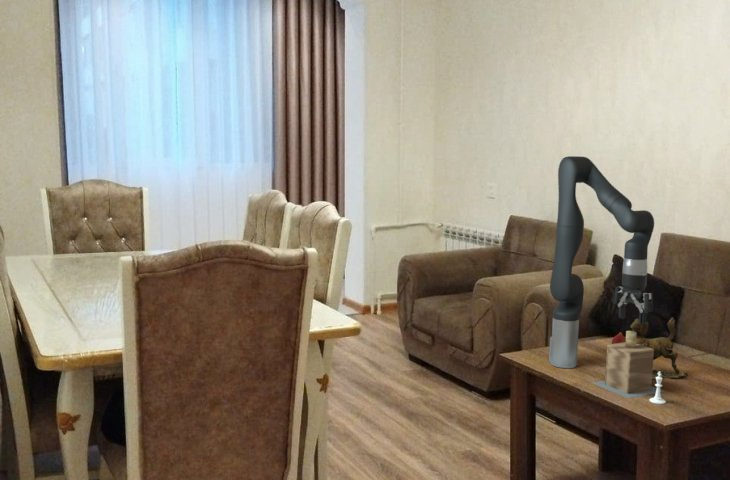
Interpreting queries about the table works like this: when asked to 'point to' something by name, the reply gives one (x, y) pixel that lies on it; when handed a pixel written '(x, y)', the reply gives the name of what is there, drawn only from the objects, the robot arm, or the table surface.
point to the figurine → (659, 348)
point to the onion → (618, 339)
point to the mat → (602, 384)
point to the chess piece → (658, 392)
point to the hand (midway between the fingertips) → (632, 321)
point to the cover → (629, 365)
